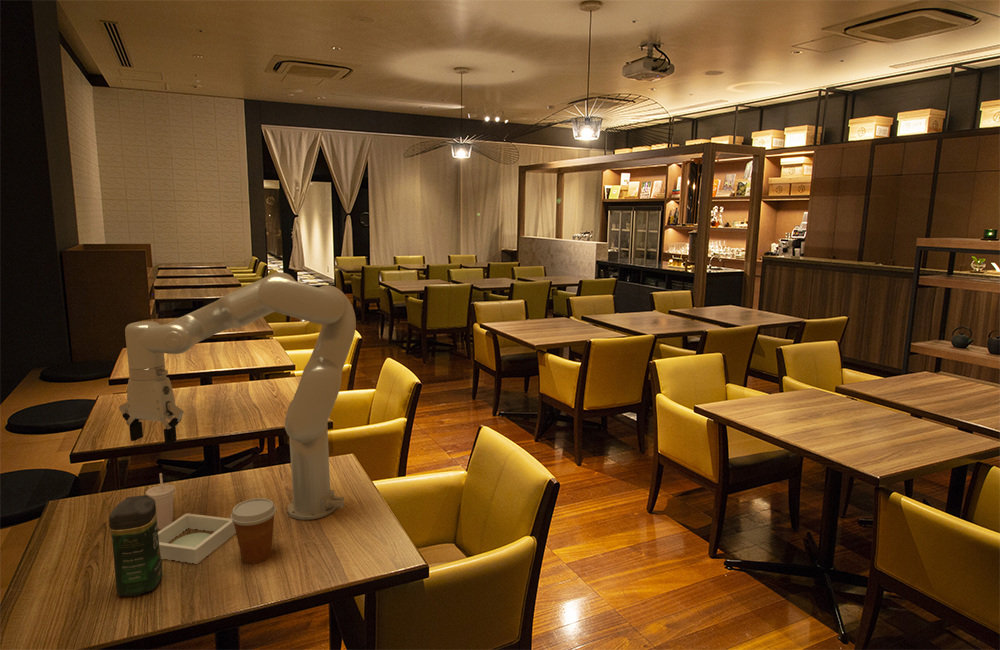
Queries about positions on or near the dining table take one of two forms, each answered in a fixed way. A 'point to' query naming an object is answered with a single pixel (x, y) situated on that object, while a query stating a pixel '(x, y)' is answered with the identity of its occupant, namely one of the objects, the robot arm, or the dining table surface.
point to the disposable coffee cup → (254, 528)
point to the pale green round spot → (191, 539)
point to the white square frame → (190, 554)
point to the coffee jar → (135, 545)
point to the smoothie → (163, 502)
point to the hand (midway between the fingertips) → (153, 441)
